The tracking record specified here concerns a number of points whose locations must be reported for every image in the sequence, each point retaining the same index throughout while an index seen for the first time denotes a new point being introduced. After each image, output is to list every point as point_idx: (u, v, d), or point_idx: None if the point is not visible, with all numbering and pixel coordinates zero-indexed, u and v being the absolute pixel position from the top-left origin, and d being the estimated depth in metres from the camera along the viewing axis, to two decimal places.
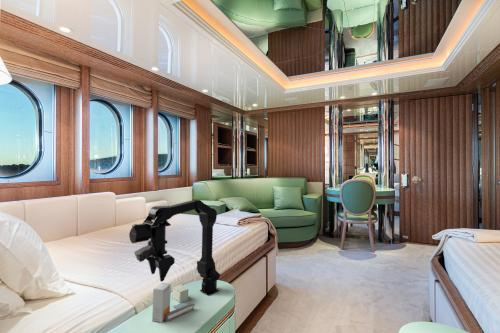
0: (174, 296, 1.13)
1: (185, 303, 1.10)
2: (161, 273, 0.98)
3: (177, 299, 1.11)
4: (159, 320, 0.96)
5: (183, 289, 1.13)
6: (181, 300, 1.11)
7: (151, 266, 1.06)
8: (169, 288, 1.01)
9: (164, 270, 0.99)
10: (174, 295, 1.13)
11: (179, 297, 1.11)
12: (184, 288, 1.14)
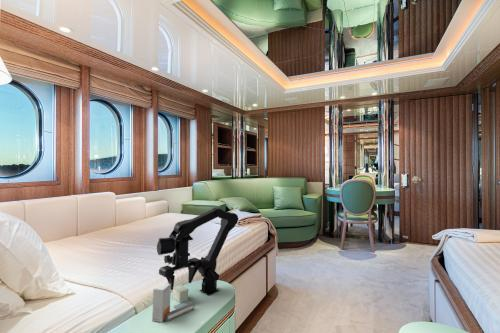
0: (174, 296, 1.13)
1: (185, 303, 1.10)
2: (168, 281, 1.10)
3: (177, 299, 1.11)
4: (159, 320, 0.96)
5: (183, 289, 1.13)
6: (181, 300, 1.11)
7: (189, 275, 1.18)
8: (169, 288, 1.01)
9: (170, 280, 1.09)
10: (174, 295, 1.13)
11: (179, 297, 1.11)
12: (184, 288, 1.14)
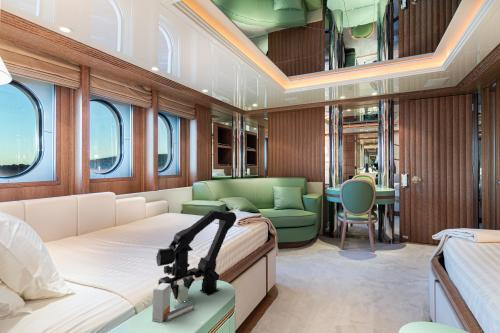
0: None
1: (185, 303, 1.10)
2: None
3: (177, 299, 1.11)
4: (159, 320, 0.96)
5: (183, 289, 1.13)
6: (181, 300, 1.11)
7: None
8: (169, 288, 1.01)
9: (174, 289, 1.11)
10: None
11: (179, 297, 1.11)
12: (184, 288, 1.14)
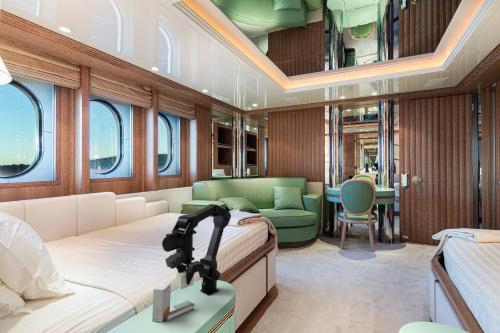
0: (184, 283, 1.06)
1: (185, 303, 1.10)
2: (188, 277, 1.06)
3: None
4: (159, 320, 0.96)
5: None
6: None
7: None
8: (169, 288, 1.01)
9: (190, 274, 1.07)
10: (184, 282, 1.06)
11: (192, 279, 1.09)
12: None
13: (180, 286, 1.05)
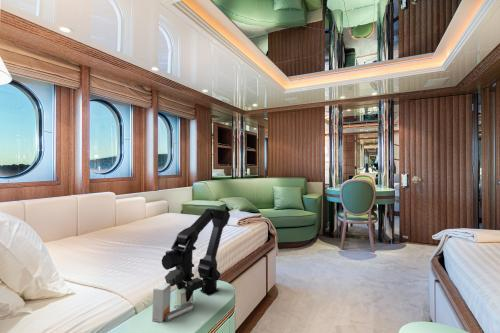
0: (184, 300, 1.06)
1: None
2: (188, 294, 1.05)
3: (189, 300, 1.08)
4: (159, 320, 0.96)
5: None
6: None
7: None
8: (169, 288, 1.01)
9: (190, 291, 1.06)
10: (184, 299, 1.06)
11: (192, 295, 1.09)
12: None
13: (180, 303, 1.05)
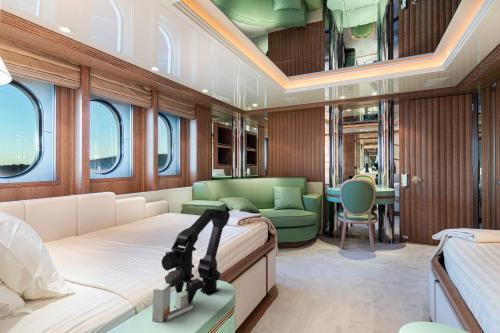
0: (184, 304, 1.06)
1: None
2: (190, 296, 1.04)
3: None
4: (159, 320, 0.96)
5: None
6: None
7: (177, 290, 1.10)
8: (169, 288, 1.01)
9: (192, 293, 1.05)
10: (184, 303, 1.06)
11: None
12: (185, 291, 1.10)
13: (179, 306, 1.05)
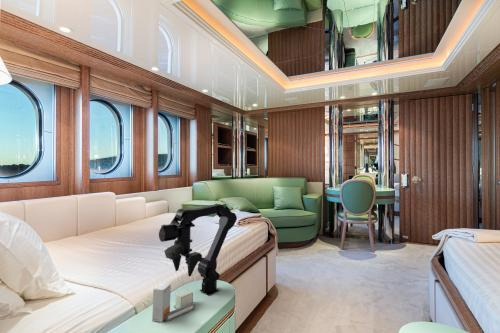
0: (184, 304, 1.06)
1: None
2: (190, 269, 1.09)
3: (189, 303, 1.07)
4: (159, 320, 0.96)
5: (187, 291, 1.10)
6: None
7: (175, 264, 1.15)
8: (169, 288, 1.01)
9: (192, 266, 1.09)
10: (184, 303, 1.06)
11: (191, 298, 1.09)
12: (185, 291, 1.10)
13: (179, 306, 1.05)
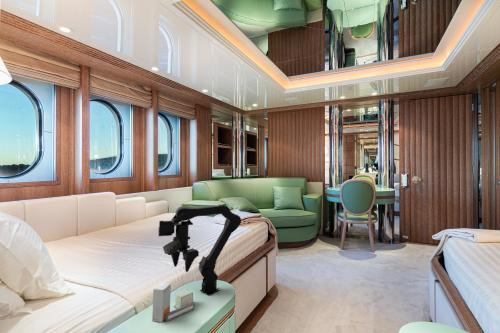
0: (184, 304, 1.06)
1: None
2: (187, 264, 1.13)
3: (189, 303, 1.07)
4: (159, 320, 0.96)
5: (187, 291, 1.10)
6: None
7: (174, 259, 1.20)
8: (169, 288, 1.01)
9: (189, 262, 1.14)
10: (184, 303, 1.06)
11: (191, 298, 1.09)
12: (185, 291, 1.10)
13: (179, 306, 1.05)
